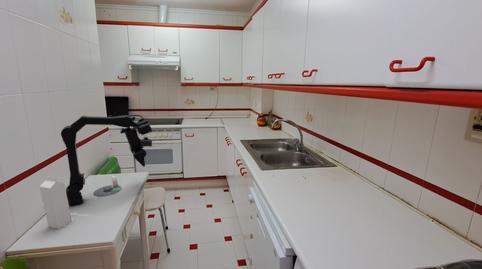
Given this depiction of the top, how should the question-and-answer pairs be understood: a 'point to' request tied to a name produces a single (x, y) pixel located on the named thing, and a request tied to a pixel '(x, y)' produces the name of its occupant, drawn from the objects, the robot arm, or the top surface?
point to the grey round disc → (101, 192)
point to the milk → (55, 203)
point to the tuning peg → (115, 182)
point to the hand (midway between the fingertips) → (142, 163)
